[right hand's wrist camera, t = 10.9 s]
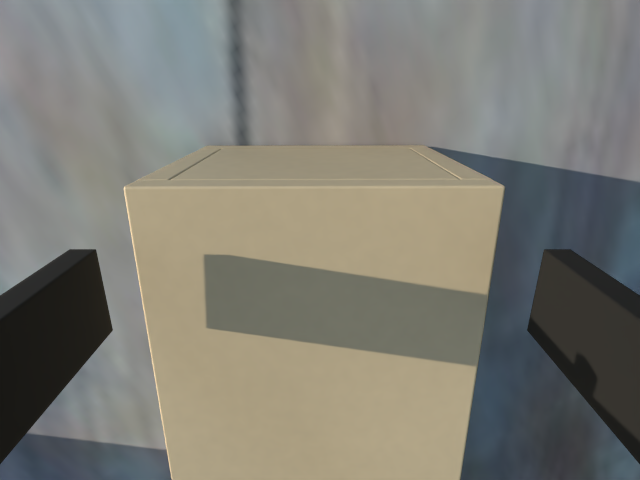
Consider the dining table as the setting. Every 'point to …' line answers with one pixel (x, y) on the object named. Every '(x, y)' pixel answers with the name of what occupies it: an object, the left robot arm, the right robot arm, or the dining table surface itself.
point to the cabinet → (315, 308)
